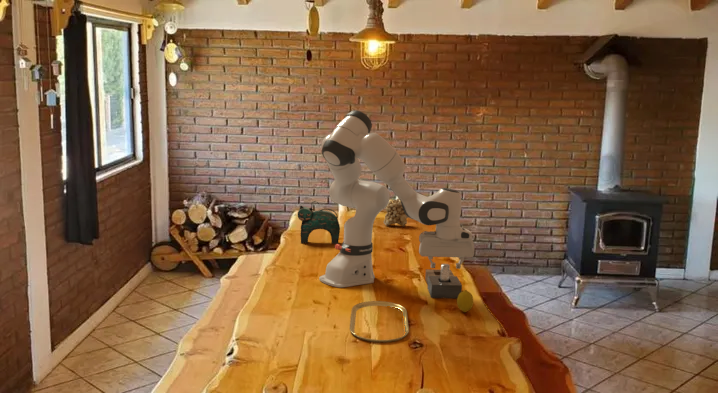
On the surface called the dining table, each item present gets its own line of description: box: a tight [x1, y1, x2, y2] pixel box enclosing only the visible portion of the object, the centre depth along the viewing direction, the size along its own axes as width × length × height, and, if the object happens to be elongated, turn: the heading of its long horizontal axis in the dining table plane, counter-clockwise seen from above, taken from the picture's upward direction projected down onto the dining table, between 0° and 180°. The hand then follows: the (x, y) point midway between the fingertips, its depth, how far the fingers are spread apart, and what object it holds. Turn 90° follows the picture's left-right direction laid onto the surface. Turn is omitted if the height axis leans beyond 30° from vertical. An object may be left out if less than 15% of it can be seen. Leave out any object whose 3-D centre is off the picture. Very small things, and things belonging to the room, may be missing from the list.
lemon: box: [456, 289, 474, 313], centre depth 236 cm, size 6×6×8 cm
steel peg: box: [440, 263, 451, 282], centre depth 255 cm, size 3×3×11 cm
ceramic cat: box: [297, 200, 341, 245], centre depth 321 cm, size 20×6×20 cm, turn 92°
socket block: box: [424, 268, 455, 286], centre depth 267 cm, size 10×10×4 cm
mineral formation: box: [383, 198, 409, 227], centre depth 361 cm, size 8×13×15 cm, turn 93°
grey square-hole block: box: [427, 275, 463, 299], centre depth 255 cm, size 11×11×5 cm
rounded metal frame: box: [349, 300, 410, 343], centre depth 225 cm, size 19×35×2 cm, turn 178°
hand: (445, 268), depth 254 cm, fingers open, 8 cm apart
